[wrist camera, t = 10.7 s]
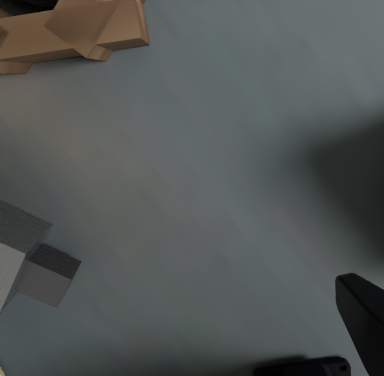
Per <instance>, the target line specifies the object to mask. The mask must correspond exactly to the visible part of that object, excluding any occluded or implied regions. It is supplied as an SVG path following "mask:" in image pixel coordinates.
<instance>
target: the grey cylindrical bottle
mask: <svg viewBox="0 0 384 376" xmlns="http://www.w3.org/2000/svg"><path fill="white" fill-rule="evenodd" d="M25 1H27V2H29V3H32V4H34V5H38V6H45V7H46V6H55V5H56V4H57V3H58V1H59V0H25Z"/></svg>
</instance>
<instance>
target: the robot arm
mask: <svg viewBox="0 0 384 376" xmlns="http://www.w3.org/2000/svg"><path fill="white" fill-rule="evenodd" d="M335 288H336V305H337V308H338V311H339V313H340V315H341V317H342V319H343V322H344V324H345V326H346V328H347V330H348V332H349V335H350V337H351V339H352V341H353V343H354V345H355V348H356V350H357V352H358V354H359V356H360V358H361V361H362V363H363V365H364V367H365V369H366V371H367V373H368V374H369V376H384V290H383V289H381V288H380V287H378V286H376V285H374V284H373V283H371V282H369V281H367V280H366V279H364V278H362V277H360V276H358V275H357V274H354V273H348V274H343V275H339V276H337V277H336V280H335ZM342 365H343V366H342ZM340 366H341V367H340ZM253 376H351V367H350V364H349V362H348V361H347V360H346V359H345V358H335V359H327V360H319V361H312V362H304V363H296V364H288V365H281V366H273V367H265V368H259V369H256V370H255V371H254V372H253Z"/></svg>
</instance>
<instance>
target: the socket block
mask: <svg viewBox="0 0 384 376" xmlns="http://www.w3.org/2000/svg"><path fill="white" fill-rule="evenodd" d="M144 2H145V0H59V1H58V3H57V4H56V6H55V8H54V10H50V11H43V12H37V13H31V14H24V15H18V16H11V15H10V14H9V13H7V12H6V11H5V10H3V9H2V8H1V7H0V73H3V74H26V73H27V72H28V70H29V68H30V67H31V65H32V63H38V62H44V61H51V60H57V59H64V58H70V57H77V56H84V57H85V58H89V59H95V60H101V61H107V59H108V58H109V56H110V55H111V53H112V52H113V51H115V50H122V49H128V48H135V47H141V46H148V45H150V43H149V37H148V31H147V25H146V19H145V13H144V7H143V3H144Z"/></svg>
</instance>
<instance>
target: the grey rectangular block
mask: <svg viewBox="0 0 384 376" xmlns="http://www.w3.org/2000/svg"><path fill="white" fill-rule="evenodd" d="M52 225H53V224H52V223H50V222H48V221H46V220H43V219H41V218H39V217H37V216H35V215H32V214H30V213H28V212H26V211H24V210H22V209H19V208H17V207H15V206H13V205H11V204H8V203H6V202H4V201H2V200H0V313H1V312H2V310H3V309H4V308H5V306H6V305H7V304H8V303H9V301H10V300H11V299H12V298H13V296H14V295H15V294H16V292H17V291H18V292H21V293H23V294H25V295H28V296H30V297H32V298H35V299H37V300H39V301H42V302H44V303H47V304H49V305H51V306H54V307H56V308H58V306H59V304H60V302H61V300H62V299H63V297H64V295H65V293H66V291H67V290H68V288H69V286H70V284H71V282H72V280H73V278H74V276H75V274H76V272H77V270H78V268H79V266H80V264H81V262H82V261H79V260H77V259H75V258H73V257H70V256H68V255H66V254H64V253H61V252H59V251H57V250H55V249H53V248H50V247H48V246H46V245H44V242H45V240H46V238H47V236H48V234H49V231H50V229H51V227H52Z"/></svg>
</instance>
